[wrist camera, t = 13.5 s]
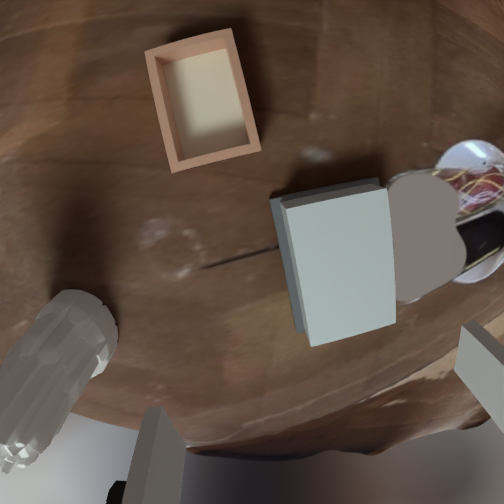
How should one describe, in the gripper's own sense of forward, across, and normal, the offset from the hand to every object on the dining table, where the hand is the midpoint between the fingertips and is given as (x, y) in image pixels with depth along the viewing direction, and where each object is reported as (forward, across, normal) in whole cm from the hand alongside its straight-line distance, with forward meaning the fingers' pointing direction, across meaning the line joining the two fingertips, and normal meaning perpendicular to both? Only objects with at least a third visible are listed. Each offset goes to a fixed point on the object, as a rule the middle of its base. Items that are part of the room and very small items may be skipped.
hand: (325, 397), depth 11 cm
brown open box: (+24, -3, +15) cm, 28 cm away
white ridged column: (+24, -26, -6) cm, 36 cm away
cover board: (+22, +7, -4) cm, 23 cm away
